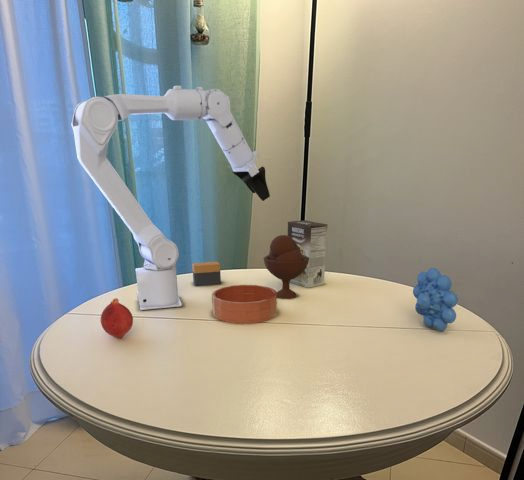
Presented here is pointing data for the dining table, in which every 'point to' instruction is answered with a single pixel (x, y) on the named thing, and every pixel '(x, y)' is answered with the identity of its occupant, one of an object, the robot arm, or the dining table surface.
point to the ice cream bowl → (285, 263)
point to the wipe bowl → (244, 303)
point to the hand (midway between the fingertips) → (261, 194)
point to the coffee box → (310, 250)
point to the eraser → (206, 273)
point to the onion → (116, 319)
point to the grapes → (435, 299)
